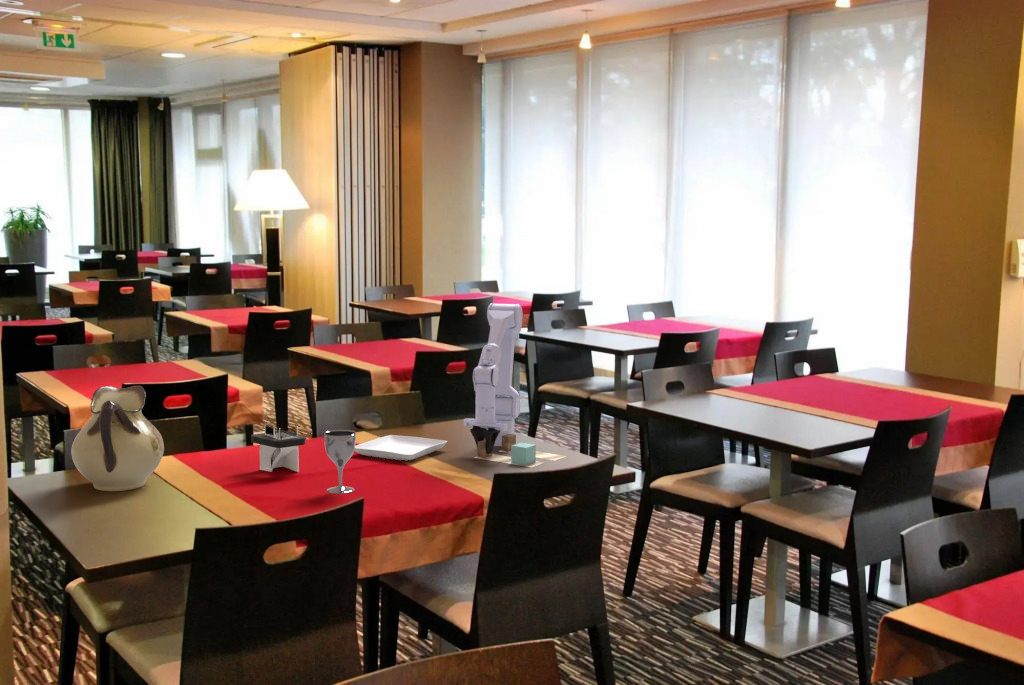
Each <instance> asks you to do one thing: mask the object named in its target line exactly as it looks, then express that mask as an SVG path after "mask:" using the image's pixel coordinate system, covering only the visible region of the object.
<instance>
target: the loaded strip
mask: <svg viewBox="0 0 1024 685" xmlns="http://www.w3.org/2000/svg"><path fill="white" fill-rule="evenodd" d="M473 458H474V459H479V460H485V461H491V462H498V463H503V464H510V465H515V466H521V467H528V468H534V467H537V466H540V465H542V464H545V462H543V461H538V460H536V462H534V463H531V464H528V465H521V464H515V463H511V456H506V455H501V454H495V453H493V452H492V453H490V454H486V441H485V440H482V441H478V450H477V456H475V457H473Z"/></svg>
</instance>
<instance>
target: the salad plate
mask: <svg viewBox="0 0 1024 685" xmlns="http://www.w3.org/2000/svg"><path fill="white" fill-rule="evenodd" d="M447 443H448V440H443V439H435V438H434V439H433V438H427V437H418V436H408V435H406V436H405V435H397V434H396V435H394V434H389V435H385V436H381V437H378V438H377V437H376V438H374V439H371V440H369V441H365V442H363V443H359V444H357V445H356V444H355V449H354V452H355V453H358V454H360V455H362V456H365V457H366V456H367V457H371V456H372V457H371V458H378V457H379V458H380V459H385V458H386V459H387V460H393V459H395V460H394V461H401V460H405V461H404V462H406V461H408V460H409V461H413V460H417V459H419V458H421V456H422V457H425V456H427V455H430V454H432V453H434V452H436V451H438V450H440V449H442V448H443V447H444V446H446V445H447ZM424 455H425V456H424ZM386 459H385V460H386Z"/></svg>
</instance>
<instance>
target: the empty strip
mask: <svg viewBox="0 0 1024 685" xmlns="http://www.w3.org/2000/svg"><path fill="white" fill-rule="evenodd" d="M515 444H517V435H516V434H515V433H514V434H506V435H503V436H502V446H501V449H500V450H498V451H497V452H499V453H504V454H505V453H507V454H511V446H512V445H515ZM567 457H568V456H567V455H562V454H556V453H549V452H543V451H538V450H536V458H537V459H542V460H549V461H557V460H561V459H563V458H567Z"/></svg>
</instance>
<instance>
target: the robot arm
mask: <svg viewBox="0 0 1024 685" xmlns="http://www.w3.org/2000/svg"><path fill="white" fill-rule="evenodd" d="M523 315H524V314H523V307H522V306H521V304H520V303H516V304H515V303H493V302H491V303H489V305H488V306H487V311H486V317H487V318H486V319H487V321H488V325H489V327H490V329H489V334H488V340H487V344H485V345H483V347H482V351H481V354H480V358H479V361H478V364H477V366H475V367H474V368H473V370H472V371H473V372H472V382H473V389H474V390H473V391H474V392H475V418H464V419H463V426H464V427H472V428H470V430H469V431H470V432H469V433H470V434H471V436H472V437H473V439H474V442H475V446H476V449H477V451H478V441H482V440H485V441H486V454H490V453H492V454H493V452H494V447H502V436H503V435H506V434H515V419H516V418H517V417H518V416H519V415H520V412H521V401H520V400H521V397H520V396H521V395H520V393H519V392H518V391H517V390H516V389H515V388H514V387H513V383H512V382H513V372H514V370H513V369H514V356H515V355H514V354H515V342H516V336H517V333H519V332H522V327H523V317H524V316H523Z"/></svg>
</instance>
